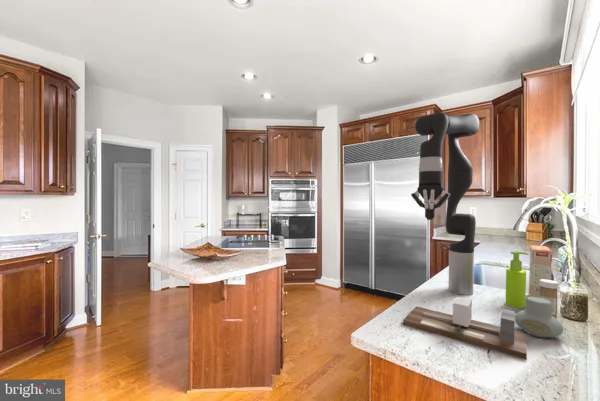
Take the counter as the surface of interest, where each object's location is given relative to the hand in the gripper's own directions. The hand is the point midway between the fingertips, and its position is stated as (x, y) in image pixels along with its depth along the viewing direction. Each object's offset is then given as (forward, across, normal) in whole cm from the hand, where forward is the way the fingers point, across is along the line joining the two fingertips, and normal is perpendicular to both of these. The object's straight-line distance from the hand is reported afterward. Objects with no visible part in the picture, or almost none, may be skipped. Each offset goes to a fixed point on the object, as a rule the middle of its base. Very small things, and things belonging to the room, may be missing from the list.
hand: (429, 219), depth 100 cm
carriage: (+30, -12, +12) cm, 34 cm away
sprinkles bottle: (+32, -33, -14) cm, 48 cm away
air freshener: (+32, -30, -2) cm, 44 cm away
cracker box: (+32, -32, -38) cm, 59 cm away
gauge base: (+32, -12, +11) cm, 36 cm away
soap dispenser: (+32, -25, -26) cm, 48 cm away
